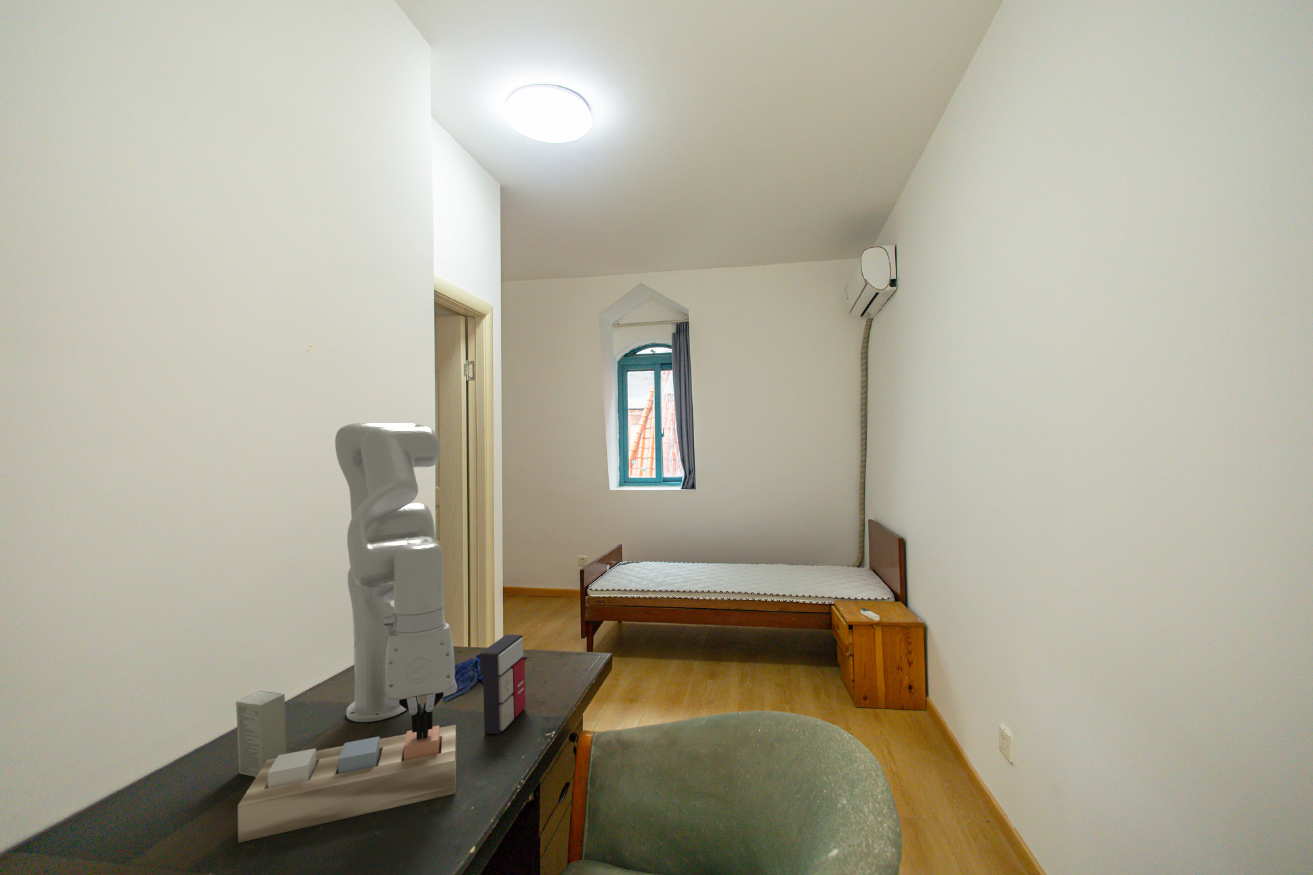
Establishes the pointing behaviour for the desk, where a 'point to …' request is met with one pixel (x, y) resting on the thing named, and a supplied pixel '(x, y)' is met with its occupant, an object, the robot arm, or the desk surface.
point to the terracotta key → (422, 744)
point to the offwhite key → (292, 768)
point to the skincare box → (260, 730)
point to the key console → (347, 788)
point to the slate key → (359, 755)
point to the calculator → (503, 682)
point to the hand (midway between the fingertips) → (422, 734)
